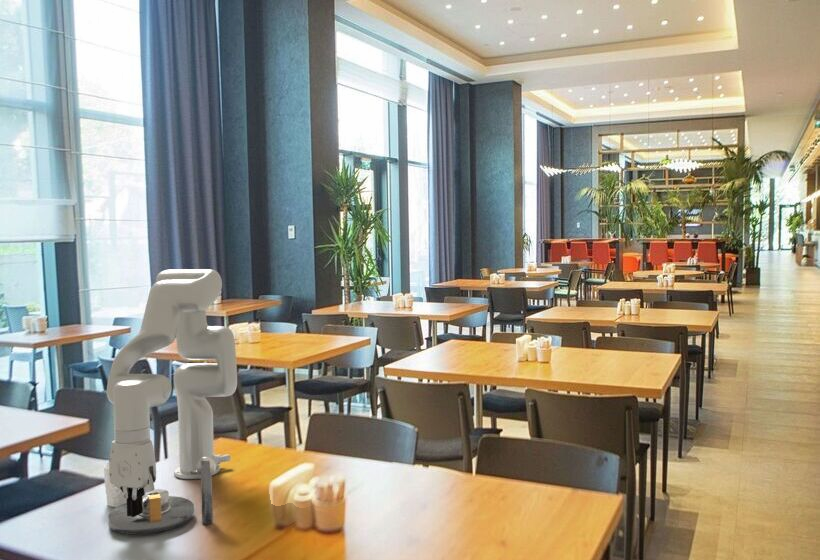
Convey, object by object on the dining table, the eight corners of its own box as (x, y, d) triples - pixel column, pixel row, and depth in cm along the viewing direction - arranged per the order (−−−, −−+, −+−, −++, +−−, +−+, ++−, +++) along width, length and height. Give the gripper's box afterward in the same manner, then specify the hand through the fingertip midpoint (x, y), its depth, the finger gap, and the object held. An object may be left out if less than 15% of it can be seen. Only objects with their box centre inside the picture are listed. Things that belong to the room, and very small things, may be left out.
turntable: (106, 511, 174) (105, 481, 173) (187, 498, 182) (186, 470, 181) (111, 540, 156) (109, 507, 156) (200, 524, 165) (199, 493, 164)
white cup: (126, 509, 178) (125, 469, 177) (98, 507, 179) (96, 467, 179) (144, 498, 185) (143, 460, 185) (116, 496, 187) (115, 458, 186)
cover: (134, 508, 170) (133, 492, 170) (167, 502, 174) (166, 486, 174) (139, 519, 163) (139, 502, 163) (173, 512, 167) (173, 495, 167)
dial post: (218, 521, 169) (216, 455, 168) (214, 525, 167) (213, 458, 166) (194, 520, 170) (192, 455, 169) (190, 524, 167) (188, 458, 166)
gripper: (94, 436, 161) (97, 516, 162) (146, 442, 156) (149, 525, 157) (119, 428, 168) (121, 504, 169) (170, 433, 163) (172, 513, 164)
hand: (134, 514), depth 163 cm, fingers closed
